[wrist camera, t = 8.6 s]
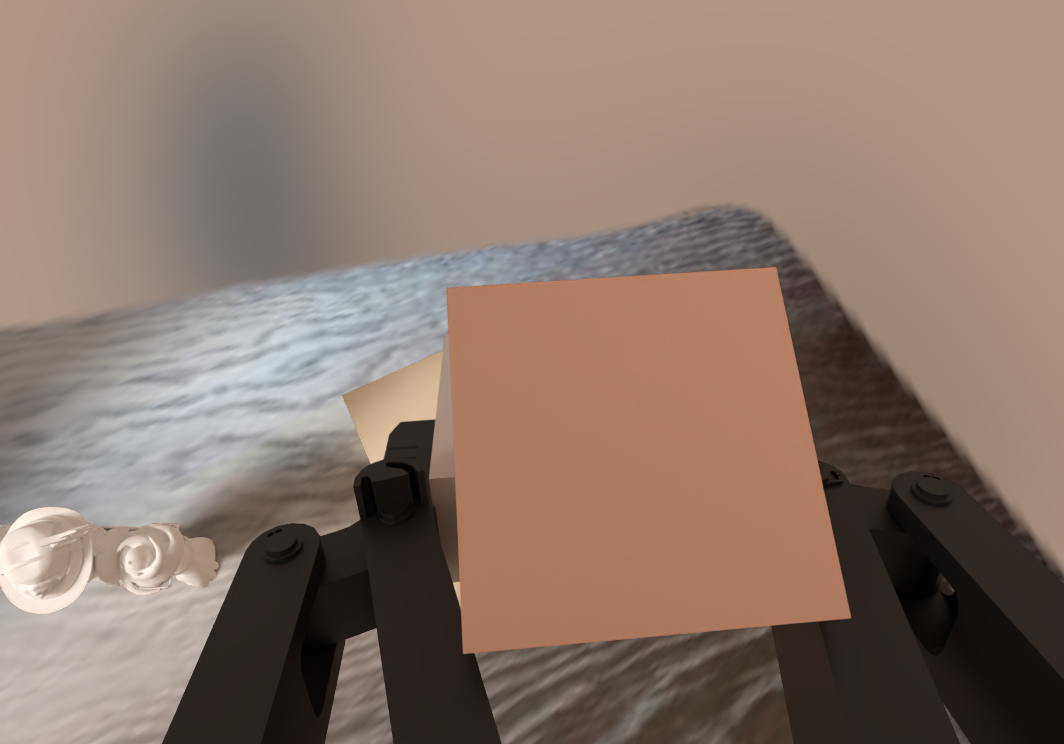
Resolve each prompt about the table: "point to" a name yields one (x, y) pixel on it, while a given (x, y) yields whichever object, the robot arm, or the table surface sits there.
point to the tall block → (634, 461)
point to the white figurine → (93, 558)
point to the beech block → (395, 406)
